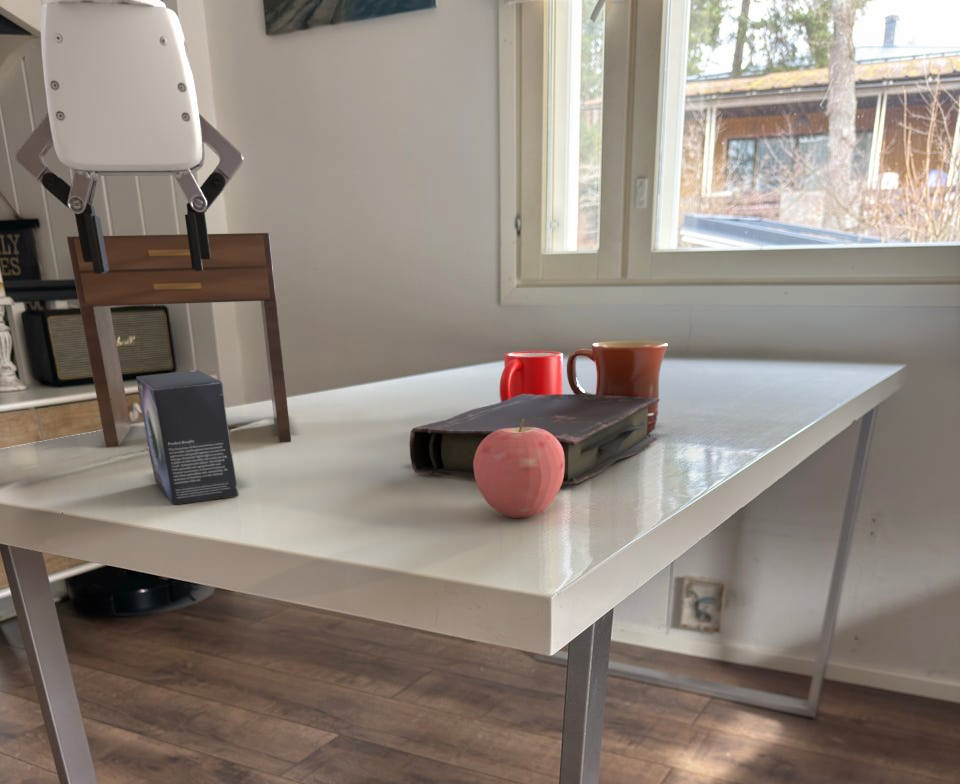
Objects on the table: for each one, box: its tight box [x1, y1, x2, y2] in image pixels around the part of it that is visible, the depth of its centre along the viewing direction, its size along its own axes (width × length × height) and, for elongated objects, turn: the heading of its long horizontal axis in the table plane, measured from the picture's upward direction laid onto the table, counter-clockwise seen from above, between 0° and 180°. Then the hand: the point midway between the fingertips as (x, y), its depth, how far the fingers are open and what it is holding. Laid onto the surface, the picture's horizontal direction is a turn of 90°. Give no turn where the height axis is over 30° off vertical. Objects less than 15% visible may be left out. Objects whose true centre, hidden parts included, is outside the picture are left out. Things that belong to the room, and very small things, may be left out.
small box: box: [135, 369, 240, 506], centre depth 84 cm, size 11×6×10 cm, turn 27°
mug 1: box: [499, 350, 564, 402], centre depth 120 cm, size 8×12×8 cm, turn 149°
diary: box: [409, 393, 660, 486], centre depth 94 cm, size 19×25×5 cm
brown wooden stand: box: [66, 232, 292, 448], centre depth 107 cm, size 14×21×23 cm
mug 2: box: [566, 340, 668, 435], centre depth 106 cm, size 12×9×10 cm
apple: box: [473, 418, 565, 519], centre depth 73 cm, size 7×7×8 cm
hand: (150, 269), depth 68 cm, fingers open, 6 cm apart
